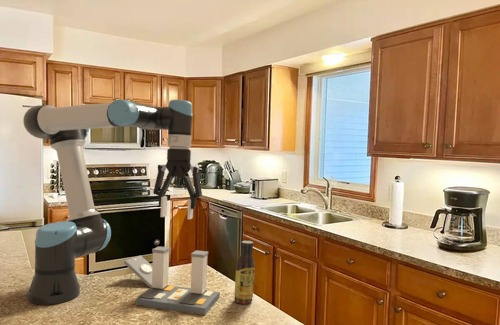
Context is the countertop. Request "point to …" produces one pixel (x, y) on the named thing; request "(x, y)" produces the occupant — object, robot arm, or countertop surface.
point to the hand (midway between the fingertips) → (176, 217)
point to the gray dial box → (141, 269)
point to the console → (178, 299)
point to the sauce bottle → (245, 274)
